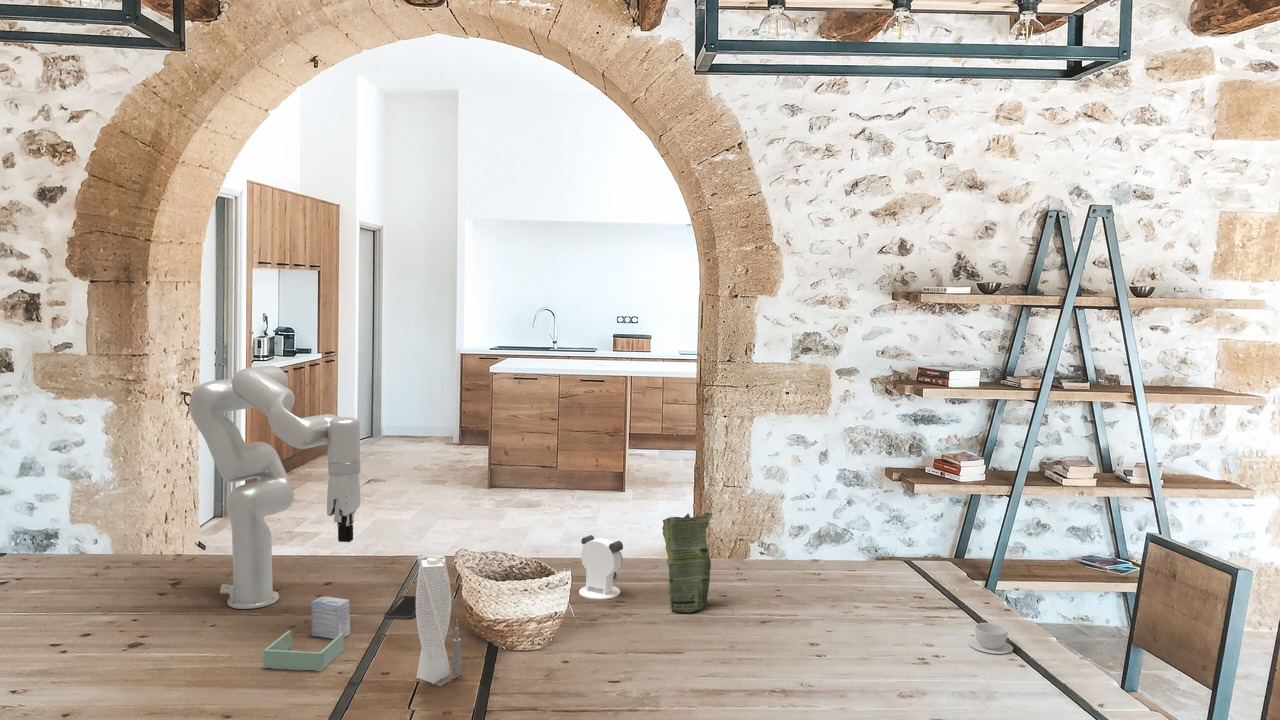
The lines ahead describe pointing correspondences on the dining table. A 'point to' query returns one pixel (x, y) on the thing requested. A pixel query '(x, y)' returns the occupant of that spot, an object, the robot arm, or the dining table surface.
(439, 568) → the skyscraper
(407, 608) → the phone
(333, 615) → the medicine box
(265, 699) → the dining table surface
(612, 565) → the panda figurine
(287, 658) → the box
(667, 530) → the pouch
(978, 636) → the teacup
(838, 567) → the dining table surface
